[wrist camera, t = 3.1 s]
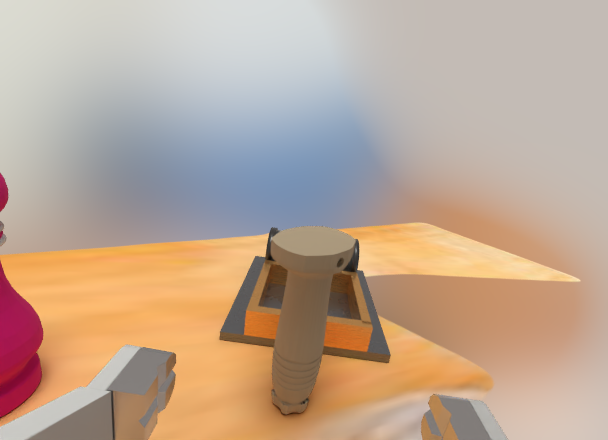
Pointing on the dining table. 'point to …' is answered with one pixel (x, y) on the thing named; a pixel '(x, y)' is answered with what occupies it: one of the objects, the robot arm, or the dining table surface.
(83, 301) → the dining table surface
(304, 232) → the handle
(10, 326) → the pepper mill
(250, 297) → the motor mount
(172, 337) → the dining table surface
